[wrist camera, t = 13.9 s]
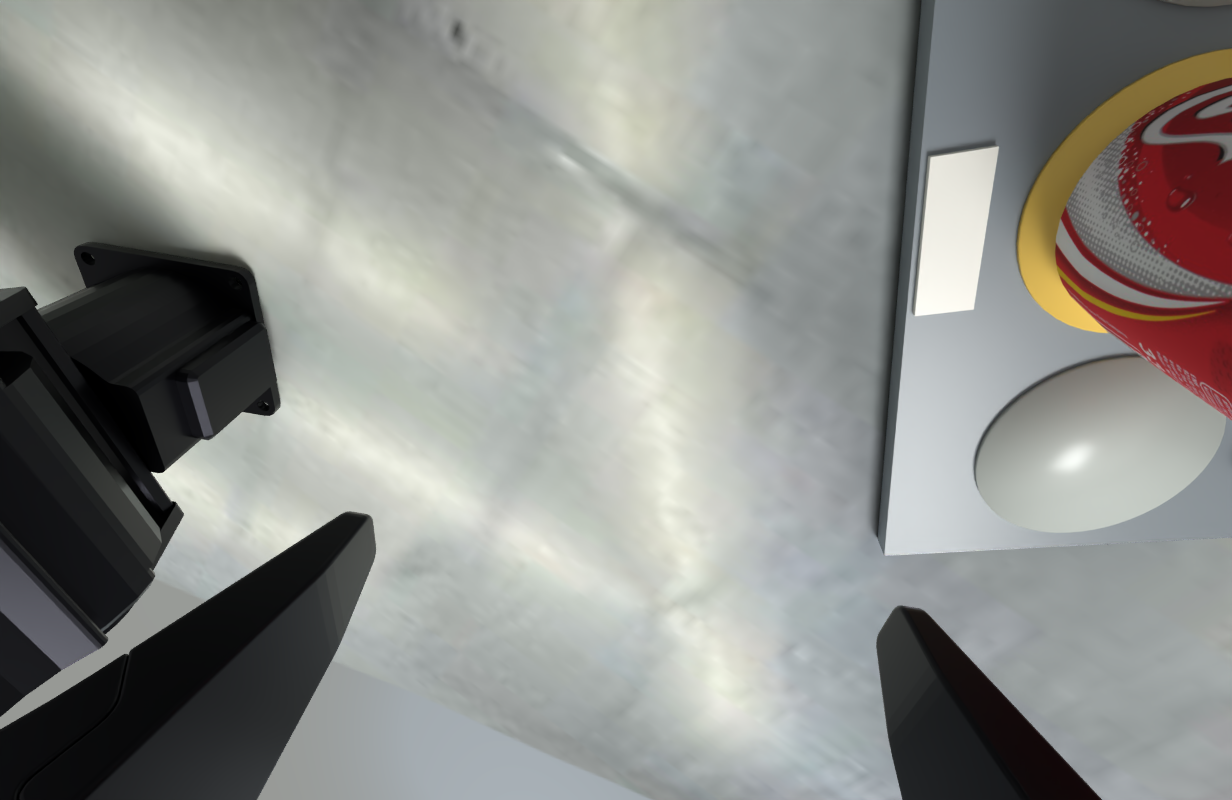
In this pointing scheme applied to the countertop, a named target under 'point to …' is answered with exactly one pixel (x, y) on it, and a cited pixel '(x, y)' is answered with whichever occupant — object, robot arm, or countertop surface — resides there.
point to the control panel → (1036, 290)
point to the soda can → (1161, 240)
